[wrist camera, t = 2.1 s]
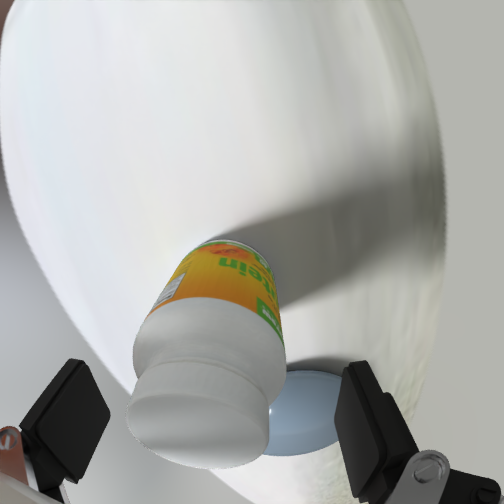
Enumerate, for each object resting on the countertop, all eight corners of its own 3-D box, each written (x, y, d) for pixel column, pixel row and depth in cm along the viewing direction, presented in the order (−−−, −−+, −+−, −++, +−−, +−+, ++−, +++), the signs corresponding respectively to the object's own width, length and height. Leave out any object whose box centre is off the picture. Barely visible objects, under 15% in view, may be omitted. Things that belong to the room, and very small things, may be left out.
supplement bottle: (295, 279, 15) (339, 431, 6) (233, 341, 17) (219, 489, 7) (216, 215, 14) (153, 328, 5) (159, 288, 15) (81, 422, 6)
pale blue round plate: (218, 367, 17) (216, 383, 16) (367, 356, 17) (374, 370, 16) (233, 444, 21) (232, 457, 19) (344, 435, 20) (348, 448, 19)
